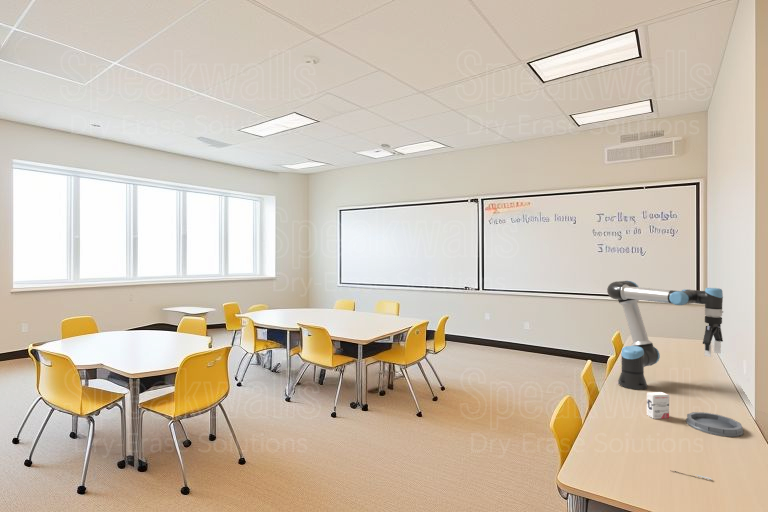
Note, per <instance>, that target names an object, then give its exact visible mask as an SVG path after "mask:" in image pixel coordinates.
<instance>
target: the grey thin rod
mask: <svg viewBox="0 0 768 512" xmlns="http://www.w3.org/2000/svg"><path fill="white" fill-rule="evenodd" d="M694 474H695V473H694ZM695 475H697V476H698V477H702V478H706V479H709V480H713V479H712V478H711V477H710V476H709V477H708V476H704V475H701V474H695Z"/></svg>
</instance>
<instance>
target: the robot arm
mask: <svg viewBox="0 0 768 512" xmlns="http://www.w3.org/2000/svg"><path fill="white" fill-rule="evenodd" d="M606 289H607V291H606V292H607V295H608V296H609V297H610V298H611V299H613V300H617V302H618V304H619V305H621V306H622V308H623V313H624V316H625V319H626V322H627V326H628V329H629V332H630V333H629V334H630V335H631V340H632V342H633V343H632V344H631V345H627V346H623V347H622V349H621V353H620V354H621V372H620V375H619V378H618V380H617V383H618V384H617V385H619V384H620V385H622V386H624V387H623V388H625V387H628V388H627V389H629V388H634V389H633V390H636V389H643V390H646V389H647V388H648V383H647V381H646V380H647V379H646V377H645V373H644V372H645V371H644V369H645V367H650V366H653V365H656V364H657V363H658V362H659V360H660V358H661V356H660V355H661V354H660V351H659V350H658V348H657V347H655V346H654V344H653V341H650V340H649V337H648V334H647V331H646V327H645V324H644V320H643V318H642V315H641V311H640V307H639V304H638V302H639V301H646V302H655V303H665V304H671V305H672V304H673V305H675V306H684V305H691V304H692V305H693V304H696V305H697V304H698V305H704V323H706V324H708V325H705V329H704V335H703V338H702V339H703V340H702V345H704V353H703V355H704V357H708V358H712V344H711V343H712V340H713V337H714V342H713V343H714V345H713V346H714V347H713V353H715V354H721V351H722V350H721V347H722V344H721V343H722V342H724V340H723V335H722V328H721V326H722V324H723V317H722V316H723V313H724V311H723V298H724V296H723V295H724V294H723V290H722V288H719V287H718V288H717V287H705V290H696V289H681V290H671V289H662V288H650V287H639V285H638V284H637V283H636V282H634V281H632V280H620V281H613V282H610V284H609V285H608V286H607V288H606ZM620 385H619V386H620ZM622 386H621V387H622Z"/></svg>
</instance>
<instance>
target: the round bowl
mask: <svg viewBox="0 0 768 512" xmlns="http://www.w3.org/2000/svg"><path fill="white" fill-rule="evenodd" d="M685 423H686V424H687V425H688V426H689V427H691V428H693V429H695V430H697V431H700V432H702V433H705V434H706V433H707V434H709V435H712V436H713V435H715V436H718V437H727V438H737V437H740V436H741V437H742V436H743V434H744V430H743V428H744V427H743V425H742V423H740V422H739V421H737V420H735V419H733V418H731V417H727V416H724V415H721V414H717V413H716V414H715V413H712V412H710V413H709V412H701V411H700V412H699V411H697V412H696V411H695V412H694V411H693V412H690V413H687V414H686V419H685Z"/></svg>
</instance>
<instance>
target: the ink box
mask: <svg viewBox="0 0 768 512" xmlns="http://www.w3.org/2000/svg"><path fill="white" fill-rule="evenodd" d="M647 415H648V416H647ZM646 416H647V417H649V416H650V417H649V418H651V417H652V418H651V419H653V418H654V420H657V419H660V420H661V419H669V418H670V394H667V393H665V392H662V391H653V392H650V391H649V392H646Z"/></svg>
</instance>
